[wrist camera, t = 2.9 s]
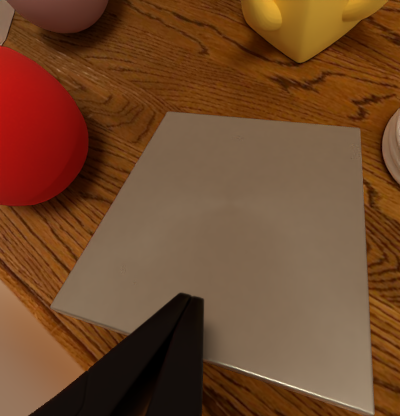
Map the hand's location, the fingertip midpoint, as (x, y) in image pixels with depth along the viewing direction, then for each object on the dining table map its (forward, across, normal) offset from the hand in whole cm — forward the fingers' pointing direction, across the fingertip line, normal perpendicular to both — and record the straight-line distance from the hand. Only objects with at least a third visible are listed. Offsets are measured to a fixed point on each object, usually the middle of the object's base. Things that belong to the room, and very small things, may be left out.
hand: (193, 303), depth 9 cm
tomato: (+16, +22, +4) cm, 27 cm away
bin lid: (+6, 0, 0) cm, 6 cm away
